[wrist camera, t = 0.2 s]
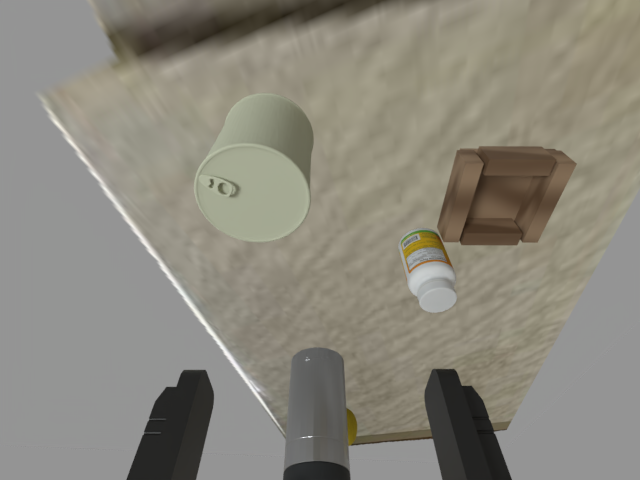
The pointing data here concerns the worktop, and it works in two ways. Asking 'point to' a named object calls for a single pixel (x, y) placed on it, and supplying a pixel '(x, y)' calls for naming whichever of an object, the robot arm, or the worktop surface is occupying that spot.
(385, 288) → the worktop surface
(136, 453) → the robot arm
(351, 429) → the lemon
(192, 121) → the worktop surface
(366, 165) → the worktop surface
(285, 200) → the can
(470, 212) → the socket block
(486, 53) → the worktop surface
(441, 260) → the supplement bottle
